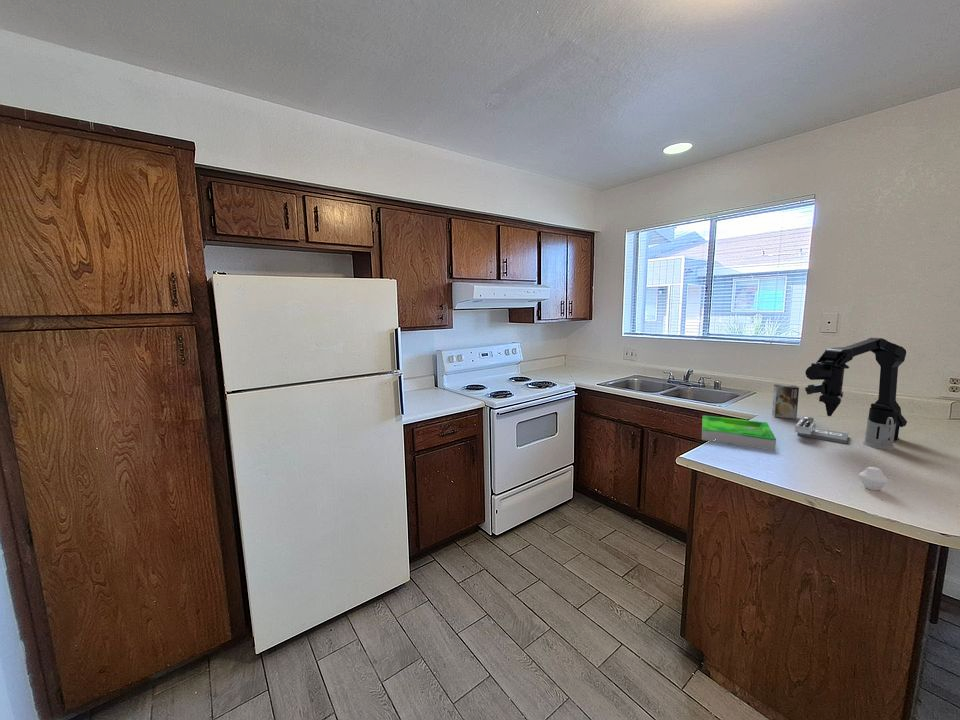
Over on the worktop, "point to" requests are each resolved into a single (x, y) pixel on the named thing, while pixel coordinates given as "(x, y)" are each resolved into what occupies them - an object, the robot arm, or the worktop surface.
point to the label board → (827, 435)
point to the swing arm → (805, 425)
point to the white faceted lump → (873, 478)
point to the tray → (738, 432)
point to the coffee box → (785, 401)
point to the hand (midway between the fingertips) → (829, 416)
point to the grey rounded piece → (880, 428)
